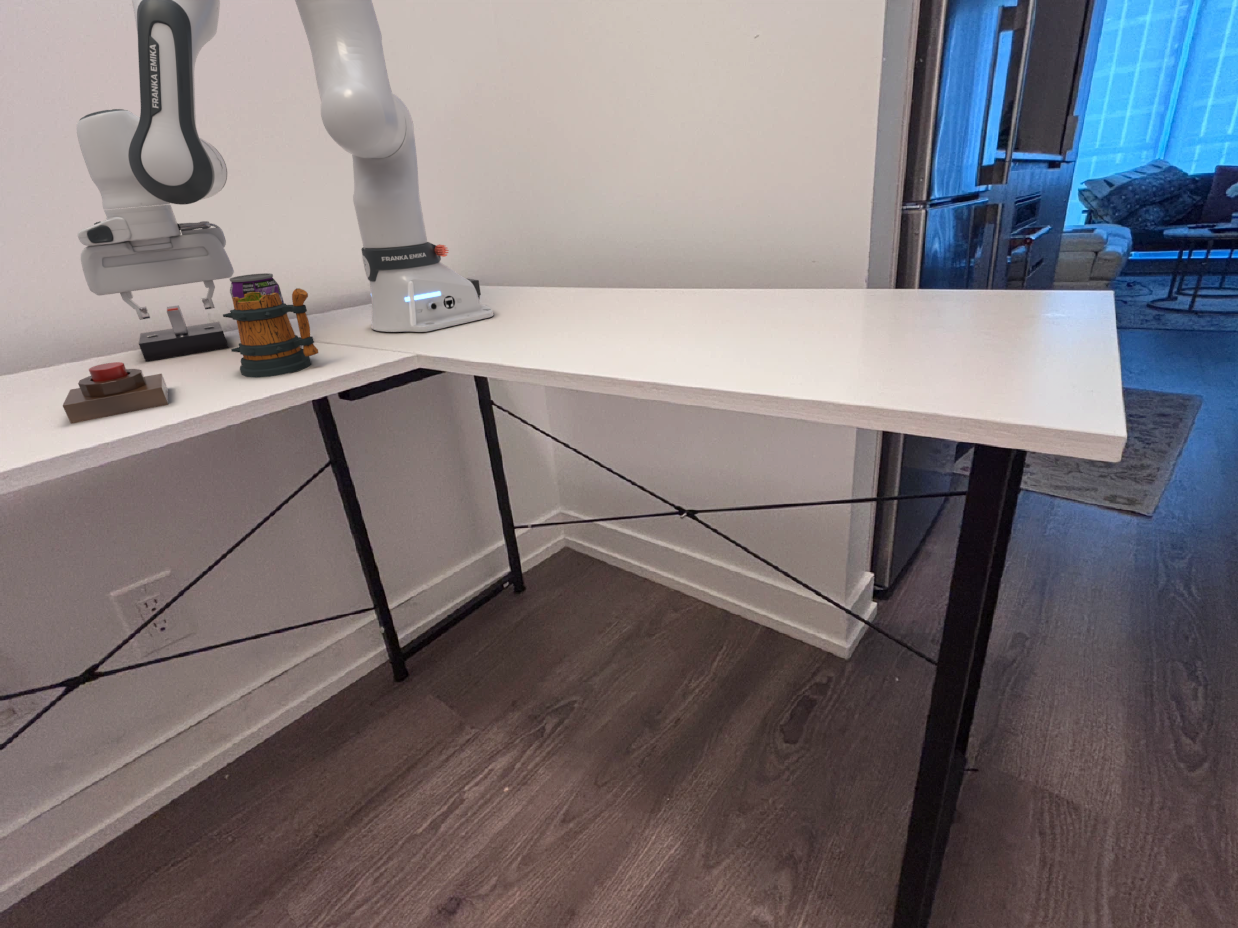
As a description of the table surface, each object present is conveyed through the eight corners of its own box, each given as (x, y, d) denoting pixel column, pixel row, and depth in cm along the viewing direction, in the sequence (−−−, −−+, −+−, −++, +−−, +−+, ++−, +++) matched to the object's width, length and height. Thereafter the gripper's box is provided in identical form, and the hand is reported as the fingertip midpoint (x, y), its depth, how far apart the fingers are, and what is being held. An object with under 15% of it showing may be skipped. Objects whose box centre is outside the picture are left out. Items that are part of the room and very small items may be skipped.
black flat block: (224, 337, 115) (218, 320, 113) (228, 348, 107) (222, 329, 106) (146, 350, 109) (139, 332, 108) (145, 361, 101) (138, 342, 100)
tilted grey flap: (175, 329, 108) (166, 305, 107) (187, 328, 109) (178, 303, 107) (175, 335, 104) (166, 310, 102) (187, 333, 105) (178, 308, 103)
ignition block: (168, 390, 86) (157, 362, 84) (168, 404, 80) (156, 374, 78) (77, 406, 81) (64, 377, 79) (70, 424, 75) (56, 392, 73)
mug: (223, 378, 90) (195, 297, 85) (267, 358, 99) (245, 284, 94) (306, 377, 88) (283, 294, 83) (343, 357, 97) (325, 281, 92)
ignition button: (129, 373, 81) (124, 360, 81) (128, 379, 79) (122, 366, 78) (95, 379, 80) (89, 365, 79) (93, 385, 77) (87, 372, 76)
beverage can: (277, 356, 100) (254, 279, 95) (239, 356, 102) (215, 280, 96) (305, 344, 106) (285, 272, 101) (269, 344, 108) (248, 273, 103)
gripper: (217, 219, 107) (244, 300, 113) (68, 233, 97) (107, 321, 103) (220, 220, 102) (248, 304, 108) (64, 235, 92) (104, 327, 98)
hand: (178, 313), depth 105 cm, fingers open, 8 cm apart
